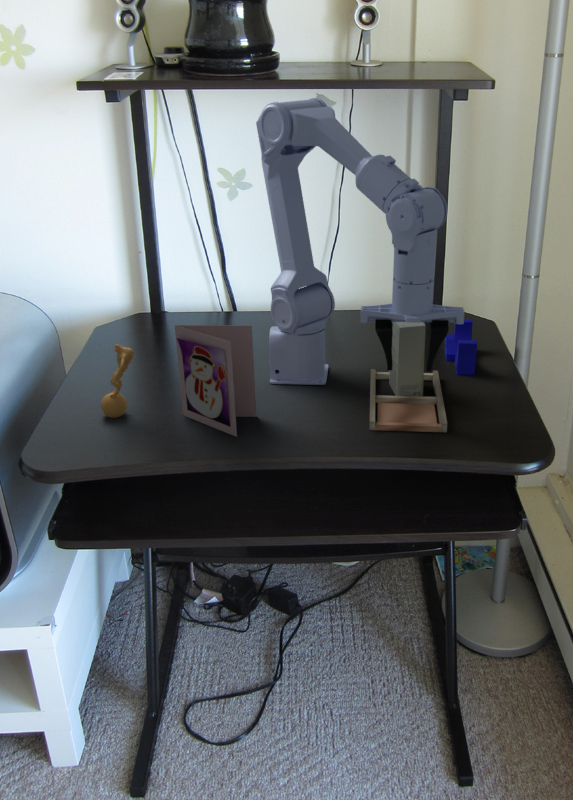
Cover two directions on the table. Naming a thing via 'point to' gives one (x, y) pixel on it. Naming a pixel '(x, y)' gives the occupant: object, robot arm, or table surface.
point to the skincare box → (407, 358)
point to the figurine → (117, 385)
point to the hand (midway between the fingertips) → (409, 368)
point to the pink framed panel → (407, 408)
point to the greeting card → (216, 374)
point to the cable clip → (462, 348)
